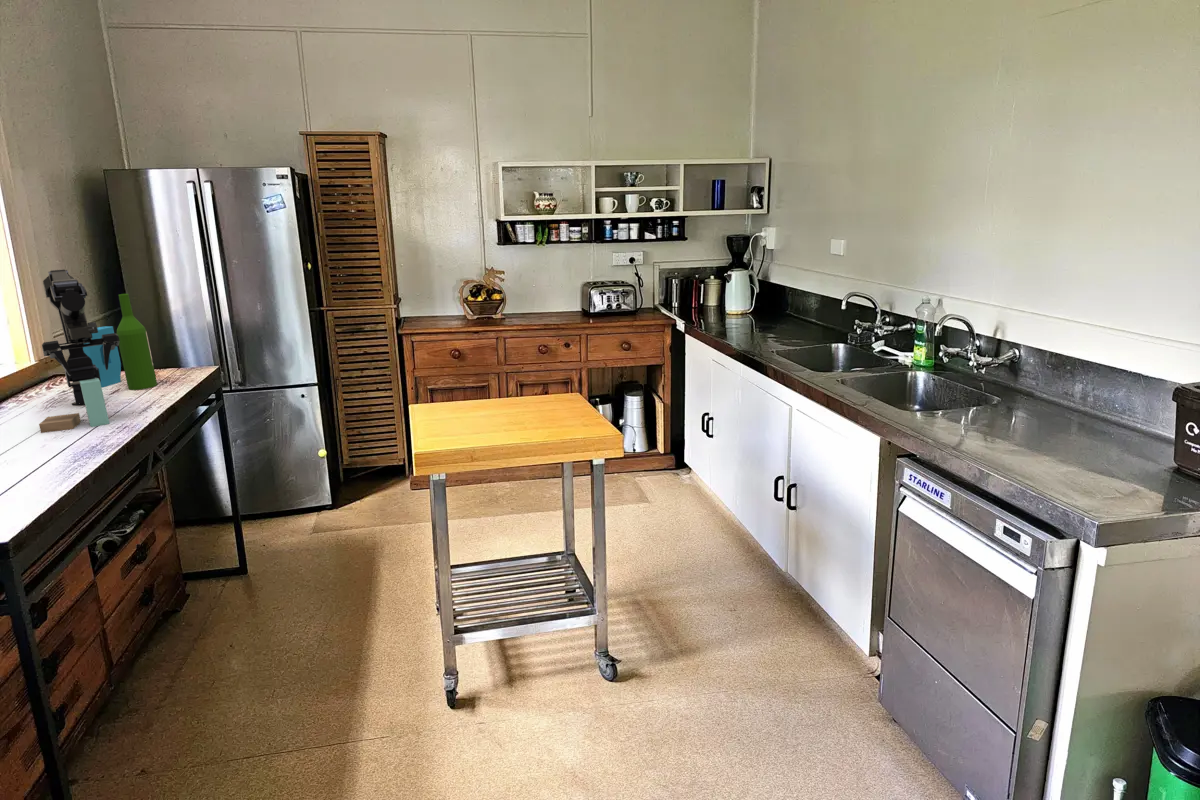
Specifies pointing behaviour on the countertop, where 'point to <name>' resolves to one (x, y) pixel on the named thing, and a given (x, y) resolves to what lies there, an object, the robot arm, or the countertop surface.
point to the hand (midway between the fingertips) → (88, 372)
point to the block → (97, 358)
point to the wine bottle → (135, 349)
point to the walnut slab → (60, 423)
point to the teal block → (94, 402)
